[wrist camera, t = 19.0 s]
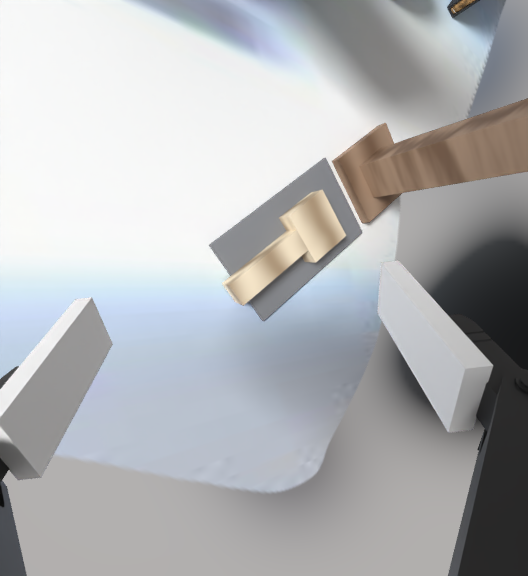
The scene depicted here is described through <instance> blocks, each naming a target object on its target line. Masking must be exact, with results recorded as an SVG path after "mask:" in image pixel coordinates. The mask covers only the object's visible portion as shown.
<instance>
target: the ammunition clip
mask: <svg viewBox="0 0 528 576" xmlns="http://www.w3.org/2000/svg"><path fill="white" fill-rule="evenodd" d="M478 1H480V0H452V1H451V2H450V4H449V5H448V7H447V8H448V10H449V12H450V14H451V16H452V18H454V17H455V16H457V15H458V14H460V13H461V12H463V11H464V10H466V9H467V8H469V7H470V6H472V5H473V4H475V3H476V2H478Z"/></svg>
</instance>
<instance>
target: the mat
mask: <svg viewBox="0 0 528 576" xmlns="http://www.w3.org/2000/svg"><path fill="white" fill-rule="evenodd" d="M319 190H323V191H324V193H325V195H326V197H327V199H328V201H329V203H330V205H331V207H332V209H333V211H334V213H335V215H336V217H337V219H338V221H339V223H340V224H341V226H342V228H343V230H344V232H345V234H346V236H345V237H344V238H343V239H342V240H341V241H340V242H339V243H338V244H336V245H335V246H334V247H333V248H332V249H331V250H330V251H328V252H327V253H326V254H325V255H324V256H323V257H322V258H320V259H319V260H318V261H317V262H316V263H313V262H305V261H304V260H303V258H302V256H301V257H300V258H298V259H297V260H296V261H295V262H294V263H293V264H291V265H290V266H289V267H288V268H287V269H286V270H284V271H283V272H282V273H281V274H280V275H279V276H277V277H276V278H275V279H274V280H273V281H272V282H270V283H269V284H268V285H267V286H266V287H265V288H263V289H262V290H261V291H260V292H259V293H258V294H256V295H255V296H254V297H253V298H252V299H251V300H249V303H250V304H251V306H252V307H253V308H254V310H255V311H256V313H257V314H258V315H259V317H260V318H261V320H262V321H264V320H265V319H267V318H268V317H269V316H270V315H271V314H272V313H273V312H274V311H275V310H277V309H278V308H279V307H280V306H281V305H282V304H283V303H284V302H285V301H287V300H288V299H289V298H290V297H291V296H292V295H293V294H294V293H296V292H297V291H298V290H299V289H300V288H301V287H302V286H303V285H304V284H306V283H307V282H308V281H309V280H310V279H311V278H312V277H313V276H314V275H316V274H317V273H318V272H319V271H320V270H321V269H322V268H323V267H324V266H326V265H327V264H328V263H329V262H330V261H331V260H332V259H333V258H334V257H336V256H337V255H338V254H339V253H340V252H341V251H342V250H343V249H345V248H346V247H347V246H348V245H349V244H350V243H351V242H352V241H353V240H355V239H356V238H357V237H358V236H359V235H360V234H361V233H362V231H361V229H360V227H359V224H358V222H357V220H356V218H355V216H354V214H353V212H352V210H351V208H350V206H349V204H348V202H347V200H346V198H345V196H344V194H343V192H342V190H341V188H340V186H339V184H338V182H337V180H336V178H335V176H334V174H333V172H332V170H331V168H330V166H329V164H328V162H327V160H326V158H323V159H322V160H321V161H320V162H318V163H317V164H316V165H314V166H313V167H312V168H310V169H309V170H308V171H306V172H305V173H304V174H302V175H301V176H300V177H298V178H297V179H296V180H294V181H293V182H292V183H290V184H289V185H288V186H287V187H285V188H284V189H283V190H281V191H280V192H279V193H277V194H276V195H275V196H273V197H272V198H271V199H269V200H268V201H267V202H265V203H264V204H263V205H261V206H260V207H259V208H257V209H256V210H255V211H253V212H252V213H251V214H250V215H248V216H247V217H246V218H244V219H243V220H242V221H240V222H239V223H238V224H236V225H235V226H234V227H232V228H231V229H230V230H228V231H227V232H226V233H224V234H223V235H222V236H220V237H219V238H218V239H217V240H215V241H214V242H213V243H211V244H210V245H209V246H210V247H211V249H212V250H213V252H214V253H215V255H216V256H217V257H218V259H219V260H220V262H221V263H222V264H223V266H224V267H225V269H226V270H227V272H228V273H229V274H230V276H231V275H233V274H234V273H235V272H236V271H238V270H239V269H240V268H241V267H243V266H244V265H245V264H246V263H248V262H249V261H250V260H251V259H252V258H254V257H255V256H256V255H257V254H259V253H260V252H261V251H262V250H264V249H265V248H266V247H267V246H269V245H270V244H271V243H272V242H273V241H275V240H276V239H277V238H278V237H280V236H281V235H282V234H283V233H285V232H286V229H285V227H284V226H283V224H282V222H281V221H280V219H279V217H280V216H282V215H283V214H284V213H285V212H287V211H288V210H289V209H291V208H292V207H293V206H294V205H296V204H297V203H298V202H299V201H301V200H302V199H303V198H305V197H306V196H307V195H308V194H310V193H311V192H315V191H319Z"/></svg>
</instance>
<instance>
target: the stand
mask: <svg viewBox="0 0 528 576" xmlns="http://www.w3.org/2000/svg"><path fill="white" fill-rule="evenodd" d="M332 162H333V164H334V167H335V169H336V171H337V173H338V175H339V177H340V179H341V181H342V183H343V185H344V187H345V189H346V191H347V193H348V195H349V197H350V199H351V201H352V203H353V205H354V208H355V210H356V212H357V214H358V216H359V218H360V220H361V222H362V223H368V222H370V221H372V220H373V219H374V218H375V217H376V216H377V215H378V214H379V213H381V212H382V211H383V210H384V209H385V208H386V207H387V206H388V205H390V204H391V203H392V202H393V201H394V200H395V199H396V198H397V197H398V196H400V195H401V194H402V193H404V192H410V191H416V190H422V189H428V188H434V187H440V186H445V185H451V184H457V183H463V182H469V181H474V180H480V179H487V178H492V177H498V176H504V175H510V174H516V173H522V172H528V98H527V99H525V100H521V101H518V102H516V103H513V104H510V105H507V106H504V107H501V108H498V109H495V110H492V111H489V112H486V113H483V114H480V115H477V116H474V117H471V118H468V119H465V120H462V121H459V122H457V123H454V124H451V125H448V126H445V127H442V128H439V129H436V130H433V131H430V132H427V133H424V134H421V135H418V136H415V137H412V138H409V139H406V140H403V141H401V142H398V143H395V144H394V142H393V139H392V137H391V134H390V132H389V129H388V127H387V125H386V123H384V124H381V125H379V126H377V127H376V128H375V129H373V130H372V131H371V132H369V133H368V134H367V135H366V136H364V137H363V138H362V139H360V140H359V141H358V142H356V143H355V144H354V145H353V146H351V147H350V148H349V149H347V150H346V151H345V152H343V153H342V154H341V155H340V156H338V157H337V158H336V159H334V160H333V161H332Z"/></svg>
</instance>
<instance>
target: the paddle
mask: <svg viewBox="0 0 528 576" xmlns="http://www.w3.org/2000/svg"><path fill="white" fill-rule="evenodd" d="M279 219H280V221H281V222H282V224H283V226H284V227H285V229H286V232H285V233H283V234H282V235H281V236H280V237H278V238H277V239H276V240H275V241H273V242H272V243H271V244H270V245H269V246H267V247H266V248H265V249H264V250H262V251H261V252H260V253H259V254H257V255H256V256H255V257H254V258H252V259H251V260H250V261H249V262H248V263H246V264H245V265H244V266H243V267H241V268H240V269H239V270H238V271H236V272H235V273H234V274H233V275H231V276H230V277H229V278H228V279H227V280H225V281H224V282H223V283H222V284H223V286H224V287H225V289H226V290H227V291H228V293H229V294H230V295H231V297H232V298H233V300H234V301H235V302H236V303H238V304H241V305H243V306H244V305H245V304H246V303H247V302H248V301H249V300H251V299H252V298H253V297H254V296H255V295H256V294H258V293H259V292H260V291H261V290H262V289H263V288H265V287H266V286H267V285H268V284H269V283H270V282H272V281H273V280H274V279H275V278H276V277H277V276H279V275H280V274H281V273H282V272H283V271H284V270H286V269H287V268H288V267H289V266H290V265H291V264H293V263H294V262H295V261H296V260H297V259H298V258H300V257H301V256H302V258H303V260H304V261H305V262H313V263H316V262H317V261H318V260H319V259H320V258H322V257H323V256H324V255H325V254H326V253H327V252H328V251H330V250H331V249H332V248H333V247H334V246H335V245H336V244H338V243H339V242H340V241H341V240H342V239H343V238H344V237H345V236H346V234H345V232H344V230H343V228H342V226H341V224H340V223H339V221H338V219H337V217H336V215H335V213H334V211H333V209H332V207H331V205H330V203H329V201H328V199H327V197H326V195H325V193H324V191H323V190H319V191H315V192H311V193H310V194H308V195H307V196H306V197H305V198H303V199H302V200H301V201H299V202H298V203H297V204H296V205H294V206H293V207H292V208H291V209H289V210H288V211H287V212H285V213H284V214H283V215H282V216H280V217H279Z"/></svg>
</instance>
